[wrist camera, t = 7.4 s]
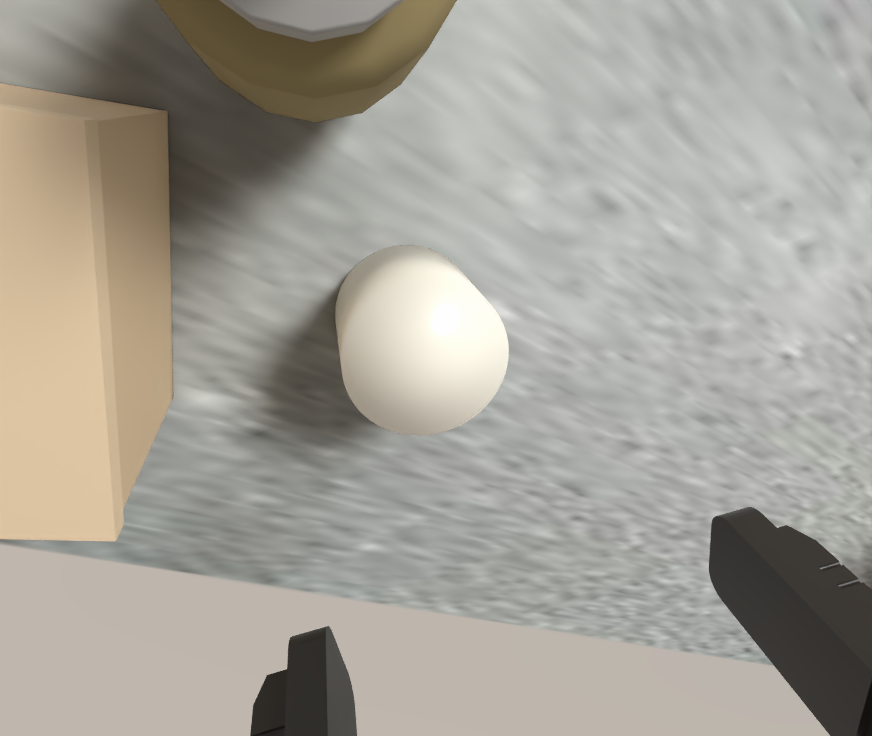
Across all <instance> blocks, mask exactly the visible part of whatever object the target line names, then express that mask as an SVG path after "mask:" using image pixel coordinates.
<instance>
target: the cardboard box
mask: <svg viewBox="0 0 872 736" xmlns="http://www.w3.org/2000/svg"><path fill="white" fill-rule="evenodd" d="M0 104H7V105H13V106H19V107H25V108H31V109H37V110H43V111H50V112H56V113H62V114H68V115H74V116H80V117H87V118H93V119H97V120H98V136H99V151H100V166H101V181H102V196H103V211H104V227H105V242H106V257H107V272H108V287H109V302H110V318H111V333H112V348H113V363H114V378H115V394H116V409H117V424H118V439H119V454H120V469H121V485H122V500H123V508H124V506H125V504H126V501H127V499H128V497H129V495H130V493H131V490H132V488H133V486H134V484H135V481H136V479H137V477H138V475H139V472H140V470H141V468H142V466H143V464H144V461H145V459H146V457H147V455H148V452H149V450H150V448H151V446H152V444H153V441H154V439H155V437H156V435H157V432H158V430H159V428H160V426H161V423H162V421H163V419H164V417H165V415H166V412H167V410H168V408H169V406H170V403H171V401H172V399H173V357H172V307H171V257H170V207H169V156H168V111H164V110H158V109H152V108H146V107H140V106H134V105H128V104H122V103H116V102H110V101H104V100H98V99H92V98H86V97H80V96H74V95H68V94H62V93H56V92H50V91H44V90H38V89H32V88H26V87H20V86H14V85H8V84H2V83H0Z"/></svg>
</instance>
